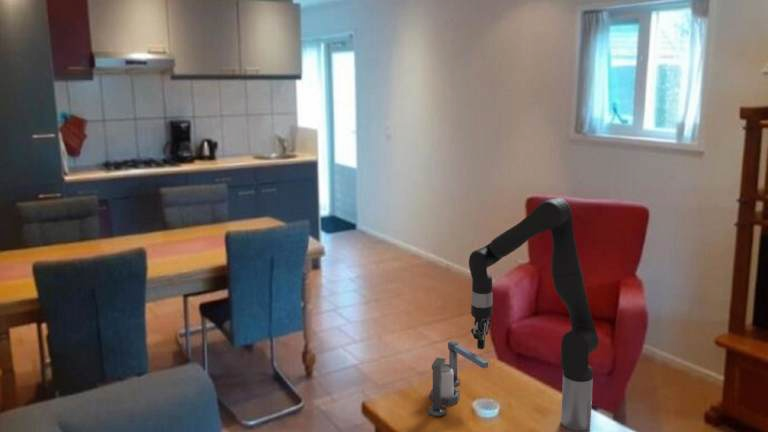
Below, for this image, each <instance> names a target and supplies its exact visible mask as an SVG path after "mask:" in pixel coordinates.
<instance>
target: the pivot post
mask: <svg viewBox="0 0 768 432" xmlns="http://www.w3.org/2000/svg"><path fill="white" fill-rule="evenodd" d="M448 353H449V355H448V356H449V358H448V359H449V361H448V362H449V363H448V365H451V366H452V369H453V372H454V387H458V386H460V384H461V379H460V378H459V377H458V353H457V352H455V351H451V350H449V349H448Z"/></svg>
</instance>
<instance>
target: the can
mask: <svg viewBox="0 0 768 432" xmlns="http://www.w3.org/2000/svg"><path fill="white" fill-rule="evenodd" d="M441 380H442V397H444V398H449V397H452V396H454V387H455V386H454V372H453V369H452V366H451V365H449V363H447V364H446V363H445V364H444V366H443V367H442V369H441Z"/></svg>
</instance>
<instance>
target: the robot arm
mask: <svg viewBox="0 0 768 432" xmlns="http://www.w3.org/2000/svg"><path fill="white" fill-rule="evenodd" d="M548 230H550V233H551V237H552V254H551V261H550V263H551V264H550V267H551V269H550V270H551V277H552V280H553V285H554V288H555V292H556V294H557V295H558V297H559V298H560V300H561V301H562V302H563V304H564V306H565V307H566V309H567V312H568V314H569V318H570V324H571V329H570V330H568V331H567V332H565V333H564V335H563V336H562V337H561V338H562V339H561V341H560V342H561V343H560V364H561V368H562V371H563V372H562V390H561V391H562V392H561V393H562V394H561V413H560V414H561V415H560V418H561V419H560V423H561V425H562V426H563V427H564V428H566V429H568V430H571V431H575V432H576V431H577V432H583V431H590V430H591V422H592V420H591V419H592V406H593V405H592V404H593V403H592V401H593V384H594V383H593V381H594V379H593V378H594V369H593V367H592V366H591V365H589V357H590V355H591V354H592V353H593V352H594V351H596V349H597V348H598V346H599V335H598V331H597V329H596V328H597V327H596V325H595V322H594V320H593V315H592V312H591V310H590V305H589V300H588V295H587V291H586V285H585V280H584V277H583V276H584V274H583V271H582V267H581V262H580V258H579V253H578V249H577V245H576V240H575V233H574V222H573V215H572V208H571V206H570V205H569V203H568V201H566V200H565V199H563V198H562V197H554V198H550V199H547V200H544V201H542V202H541V203H539V204H538V205H537V206H536V207H535V208H534V209H533V210H532V211H531V212H530V213H529V214H528V215H527V216H526V217H524V218H523V219H522V220H521V221H520V222H518V223H517V224H515V225H514V226H512V227H510V228H509V229H507V230H505V231H504V232H503V233H501V234H499V235H498V236H496V237H495V238H494V239H492V240H491V242H489V243H488V244H486V245H485V246H483V247H481V248H478V249H475V250H474V251H472V252H471V253H470V254H469V258H468V267H469V270H470V276H471V278H472V279H471V280H472V281H471V285H472V286H471V296H470V297H471V298H470V304H471V305H470V308H471V309H470V315H471V316H472V317H473V318H474V323H473V324H474V327H473V328H471V330H470V331H471V334H472V336H473V339H475V340H477V343H476V344H477V347H476V348H477V349H479V350H484V349H485V343H486V338H487V336H488V334H489V331H490V327H491V323H492V319H491V317H492V316H493V308H494V307H493V305H494V303H493V301H494V297H493V295H494V294H493V277H492V276H491V274H489V273H488V270H487V269H488V268H489V267H492V266H493V265H495V264H497V263H498V262H499V261H500V260H502V259H503V258H504V257H507V256H508V255H510V254H511V253H512V252H515V251H516V250H518V249H519V248H521V247H522V246H523V245H524V244H525V243H527V242H528V241H529V240H530V239H532V238H533V237H534V236H537V235H539V234H541V233H544V232H546V231H548Z"/></svg>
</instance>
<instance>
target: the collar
mask: <svg viewBox="0 0 768 432" xmlns="http://www.w3.org/2000/svg"><path fill="white" fill-rule="evenodd" d="M429 399H430V401H432V402H433V387H432V388H431V390H430V391H429ZM460 399H461V391H460V389H458V388H457V387H456V386H454V396H452V397H449V398H444V397H442V406H443V407H444V406H445V407H449V406H452V405H457V404H458V402H459V401H460Z"/></svg>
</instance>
